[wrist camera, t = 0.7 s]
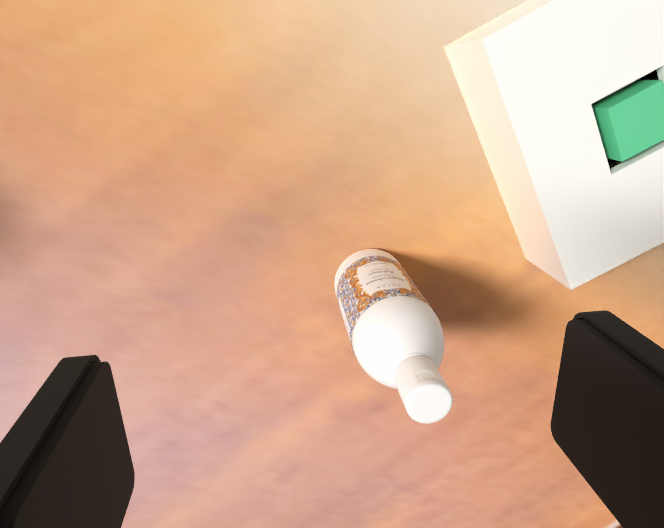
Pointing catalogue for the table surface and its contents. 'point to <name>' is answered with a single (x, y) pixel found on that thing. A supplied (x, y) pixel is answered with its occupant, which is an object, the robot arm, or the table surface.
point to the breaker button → (631, 118)
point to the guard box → (566, 128)
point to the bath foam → (394, 331)
